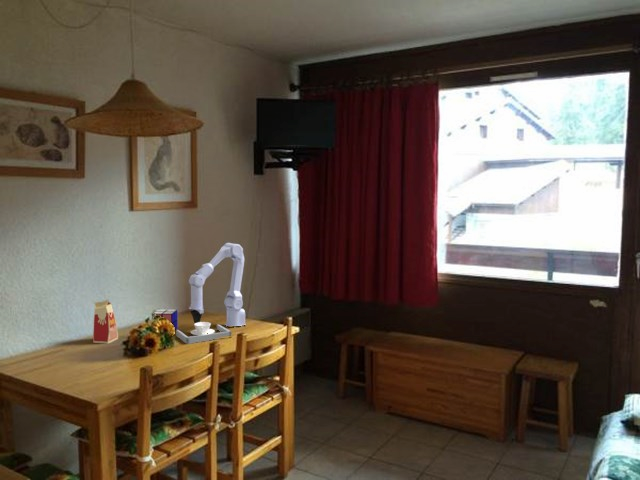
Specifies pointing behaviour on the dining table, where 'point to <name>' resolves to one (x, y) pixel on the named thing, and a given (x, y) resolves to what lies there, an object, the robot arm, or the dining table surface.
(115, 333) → the milk carton
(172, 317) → the puzzle cube
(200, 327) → the teacup
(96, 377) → the dining table surface
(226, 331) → the tray
